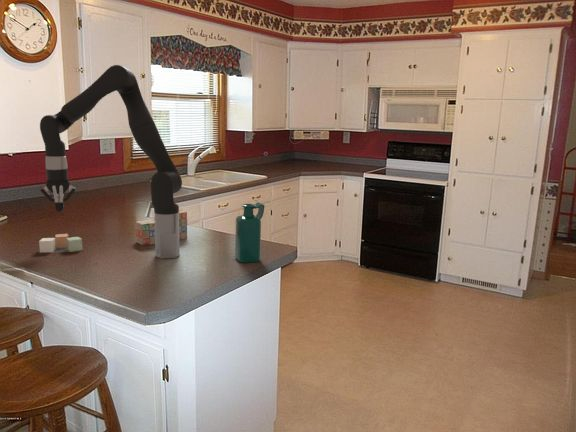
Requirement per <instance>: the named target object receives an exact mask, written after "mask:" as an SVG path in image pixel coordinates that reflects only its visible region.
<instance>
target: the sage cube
mask: <svg viewBox="0 0 576 432" xmlns="http://www.w3.org/2000/svg"><path fill="white" fill-rule="evenodd" d="M82 240H83V239H82V238H81V237H79V236H73V237H69V238H66V241H67V250H69V251H70V252H69V253H72V252H73V251H75V252H81V251H83V246H82V244H83V241H82ZM80 250H81V251H80Z"/></svg>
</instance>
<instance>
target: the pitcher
mask: <svg viewBox="0 0 576 432" xmlns="http://www.w3.org/2000/svg"><path fill="white" fill-rule="evenodd" d="M241 208H243V214H241V215H238V216H236V218H235V238H234V239H235V244H234V245H235V248H234V249H235V253H234V255H235V256H234V257H235V259H236V260H237V261H238V262H239V263H241V264H247V263H256V262H257V263H258V262H260V260H261V241H262V239H261V236H262V218H263V217H264V212H265V204H263V203H262V202H256V203H255V204H254V203H243V204H241ZM255 209H258V210H257V214H256V215H255V214H254V210H255Z"/></svg>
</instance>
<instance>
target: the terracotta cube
mask: <svg viewBox="0 0 576 432" xmlns="http://www.w3.org/2000/svg"><path fill="white" fill-rule="evenodd" d="M54 236H55V237H54V238H55V242H56V248H65V247H67V241H66V238H70V237H69V234H68V233H58V234H55V235H54Z"/></svg>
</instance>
